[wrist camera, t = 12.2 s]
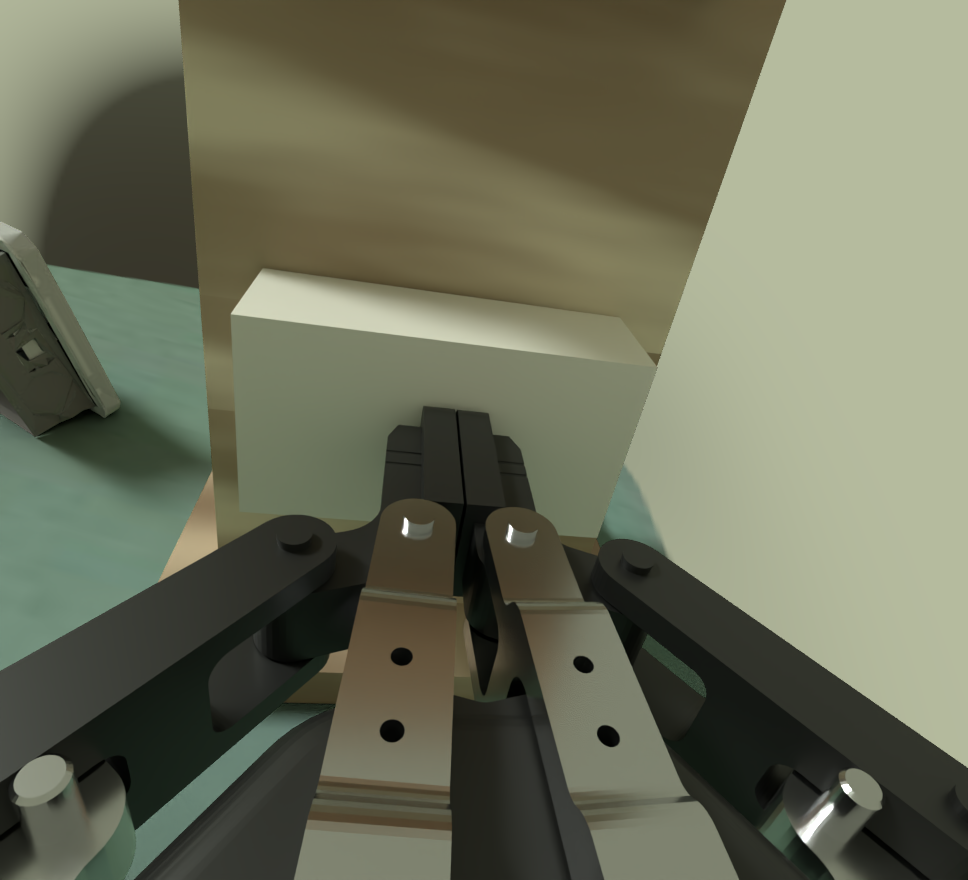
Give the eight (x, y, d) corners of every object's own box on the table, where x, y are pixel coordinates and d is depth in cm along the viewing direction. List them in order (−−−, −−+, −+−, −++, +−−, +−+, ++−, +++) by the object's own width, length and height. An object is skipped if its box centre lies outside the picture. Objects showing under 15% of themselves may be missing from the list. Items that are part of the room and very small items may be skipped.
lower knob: (295, 364, 21) (298, 218, 19) (543, 393, 23) (577, 261, 20) (239, 511, 15) (230, 314, 12) (597, 538, 16) (657, 367, 14)
